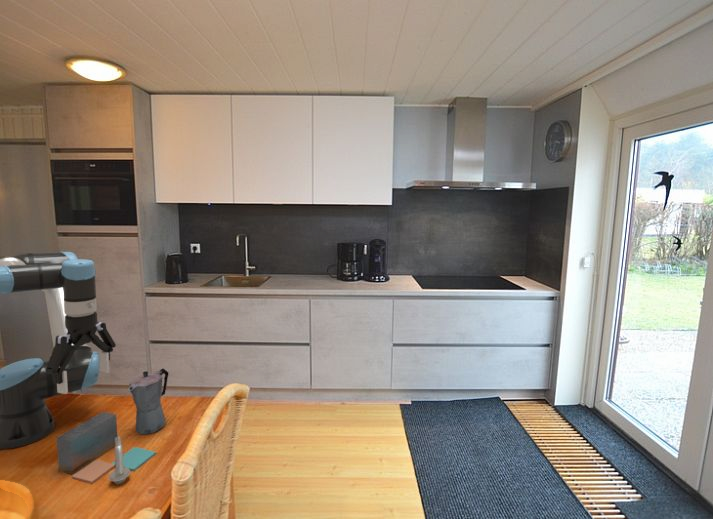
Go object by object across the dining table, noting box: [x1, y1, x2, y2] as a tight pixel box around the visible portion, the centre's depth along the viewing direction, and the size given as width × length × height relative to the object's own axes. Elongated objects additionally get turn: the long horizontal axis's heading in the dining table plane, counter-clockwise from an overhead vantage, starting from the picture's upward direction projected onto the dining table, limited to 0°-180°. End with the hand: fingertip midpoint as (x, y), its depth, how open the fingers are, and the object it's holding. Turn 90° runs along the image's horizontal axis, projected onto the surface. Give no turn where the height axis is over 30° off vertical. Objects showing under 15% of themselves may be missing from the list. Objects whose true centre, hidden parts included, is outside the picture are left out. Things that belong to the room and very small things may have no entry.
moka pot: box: [127, 368, 169, 435], centre depth 123 cm, size 10×15×20 cm, turn 166°
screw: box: [108, 435, 131, 485], centre depth 99 cm, size 13×5×5 cm
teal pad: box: [111, 446, 157, 472], centre depth 108 cm, size 8×8×1 cm
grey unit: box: [56, 411, 118, 476], centre depth 108 cm, size 5×14×10 cm, turn 165°
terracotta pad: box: [71, 459, 115, 484], centre depth 102 cm, size 7×7×1 cm
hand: (85, 381), depth 110 cm, fingers open, 13 cm apart
